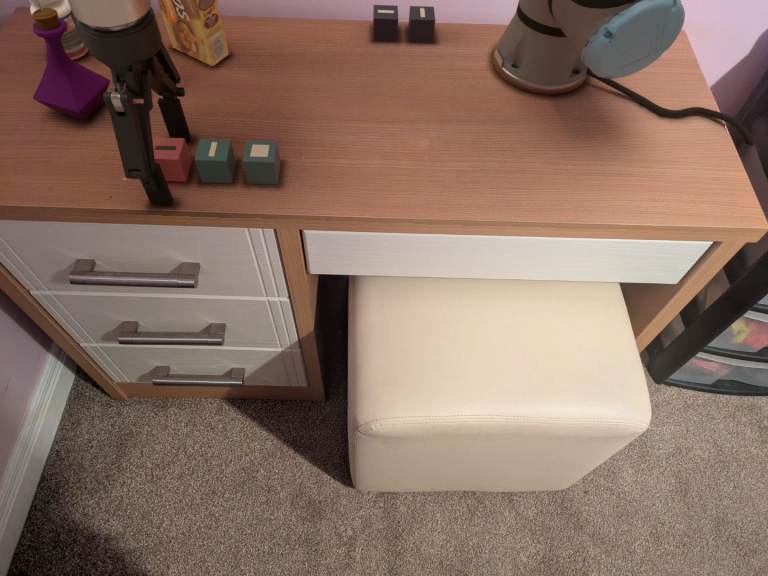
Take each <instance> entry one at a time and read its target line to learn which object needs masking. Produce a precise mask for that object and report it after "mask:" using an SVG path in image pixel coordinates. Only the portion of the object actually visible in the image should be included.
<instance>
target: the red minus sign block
mask: <svg viewBox="0 0 768 576" xmlns="http://www.w3.org/2000/svg"><path fill="white" fill-rule="evenodd" d="M152 140H153V149H154V157H155V163H159V164H160V167H161V169H162V172H163V175H164V177H165V180H166V182H182V183H183V182H184V183H185V182H187V180H188V176H189V172H190V169H191V165H192V162H193V160H192V156H191V154H190V151H189V148H188V146H187V145H188V144H187V141H185V139H184V138H170V137H160V136H159V137H158V136H155V137H152Z"/></svg>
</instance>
